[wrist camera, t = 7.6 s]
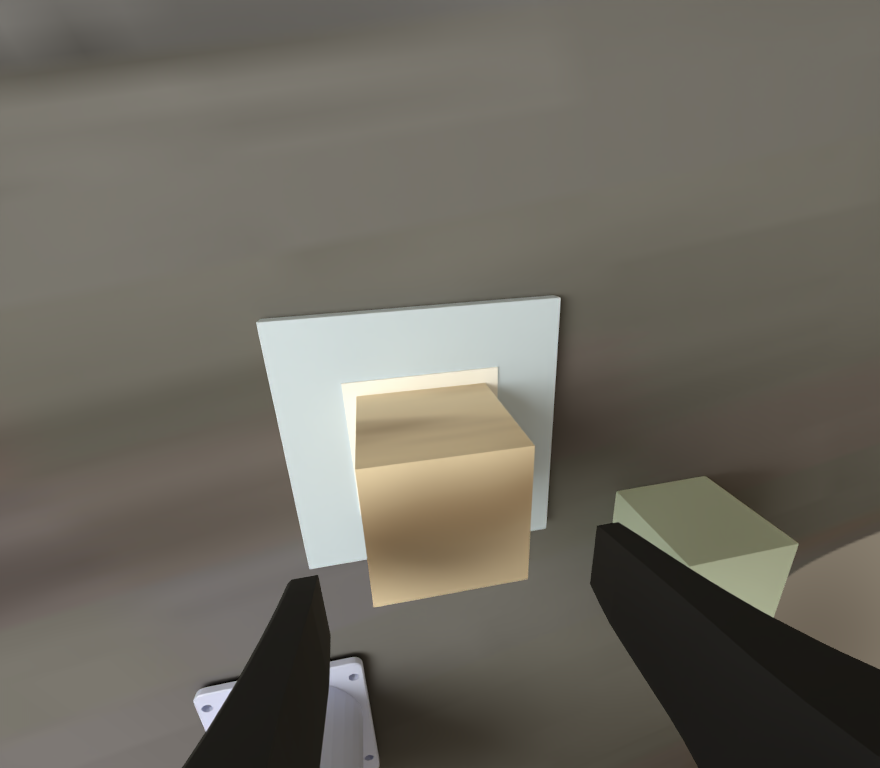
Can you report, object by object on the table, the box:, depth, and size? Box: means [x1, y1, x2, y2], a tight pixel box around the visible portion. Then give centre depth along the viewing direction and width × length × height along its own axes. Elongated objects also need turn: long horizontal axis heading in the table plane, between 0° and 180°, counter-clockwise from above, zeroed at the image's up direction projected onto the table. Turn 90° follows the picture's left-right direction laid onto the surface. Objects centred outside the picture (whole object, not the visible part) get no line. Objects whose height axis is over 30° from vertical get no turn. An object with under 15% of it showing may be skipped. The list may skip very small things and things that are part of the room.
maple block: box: [355, 383, 535, 607], centre depth 14 cm, size 5×5×5 cm
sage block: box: [613, 476, 799, 618], centre depth 19 cm, size 5×5×5 cm
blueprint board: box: [256, 295, 561, 569], centre depth 17 cm, size 11×11×1 cm
